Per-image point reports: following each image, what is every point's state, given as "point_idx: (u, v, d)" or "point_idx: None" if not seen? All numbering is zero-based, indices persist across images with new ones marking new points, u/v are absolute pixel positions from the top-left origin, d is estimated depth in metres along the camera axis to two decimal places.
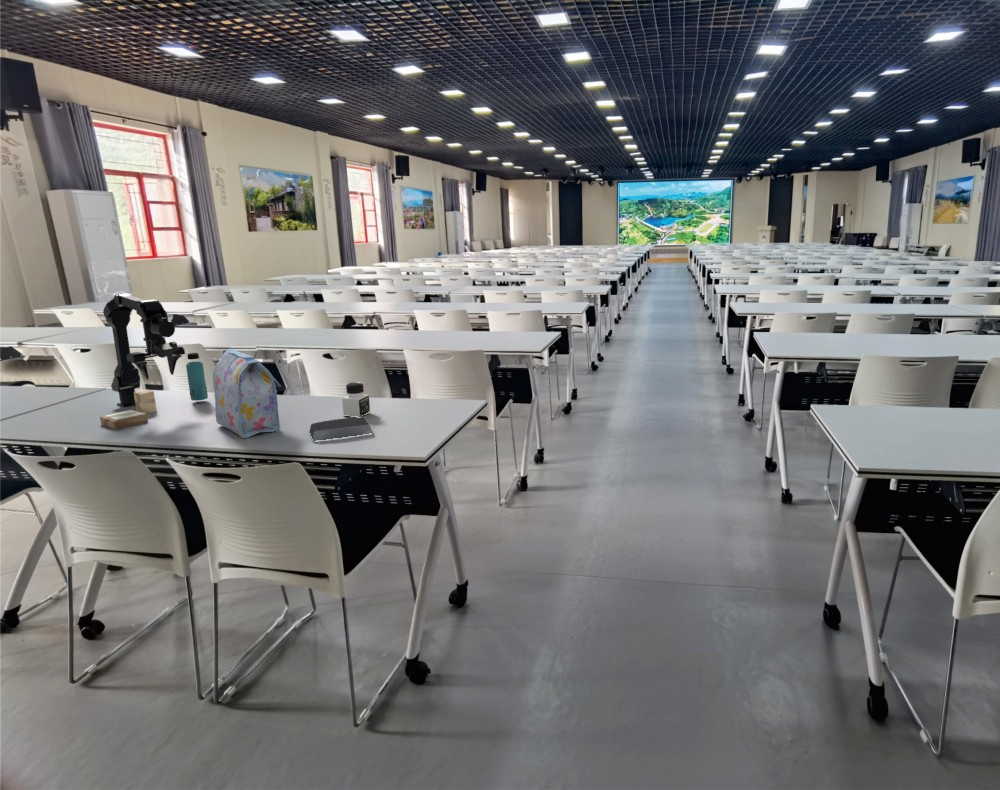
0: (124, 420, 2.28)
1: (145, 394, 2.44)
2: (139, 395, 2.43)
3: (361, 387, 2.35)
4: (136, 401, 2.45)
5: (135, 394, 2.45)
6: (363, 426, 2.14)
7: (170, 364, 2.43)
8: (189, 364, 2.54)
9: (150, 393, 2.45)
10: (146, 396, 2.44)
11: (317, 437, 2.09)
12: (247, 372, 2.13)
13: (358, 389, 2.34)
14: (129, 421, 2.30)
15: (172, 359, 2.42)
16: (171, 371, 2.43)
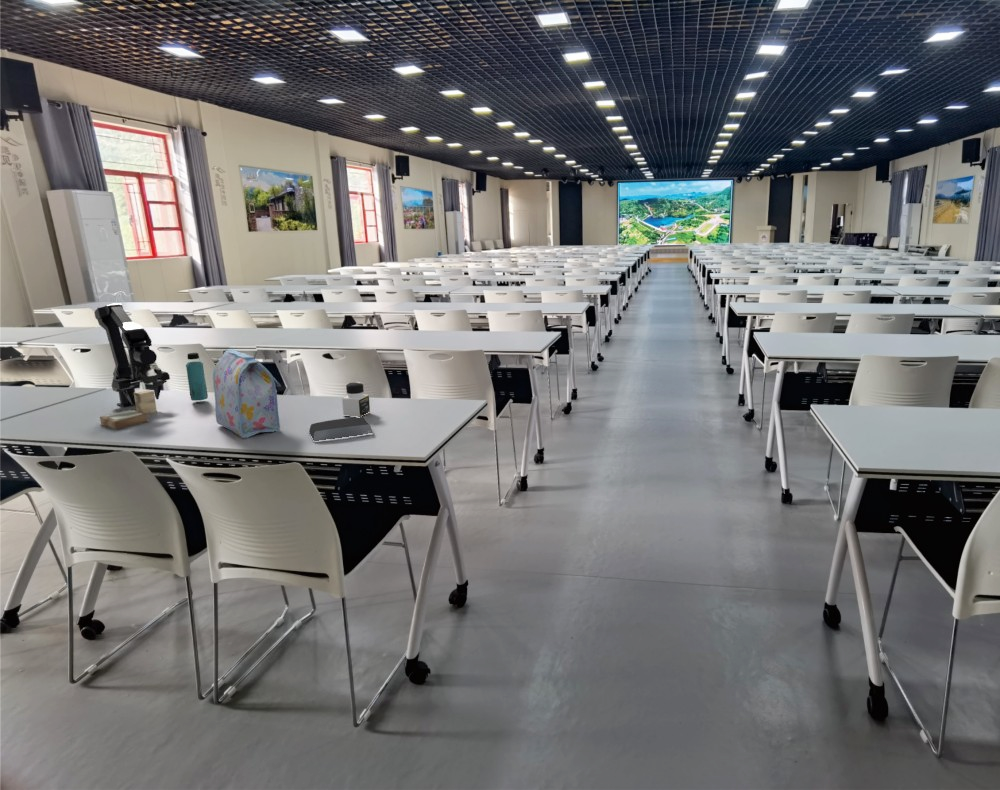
0: (124, 420, 2.28)
1: (145, 394, 2.44)
2: (139, 395, 2.43)
3: (361, 387, 2.35)
4: (136, 401, 2.45)
5: (135, 394, 2.45)
6: (364, 426, 2.14)
7: (155, 389, 2.50)
8: (189, 364, 2.54)
9: (150, 393, 2.45)
10: (146, 396, 2.44)
11: (317, 437, 2.09)
12: (247, 372, 2.13)
13: (358, 389, 2.34)
14: (129, 421, 2.30)
15: (157, 384, 2.49)
16: (156, 396, 2.50)
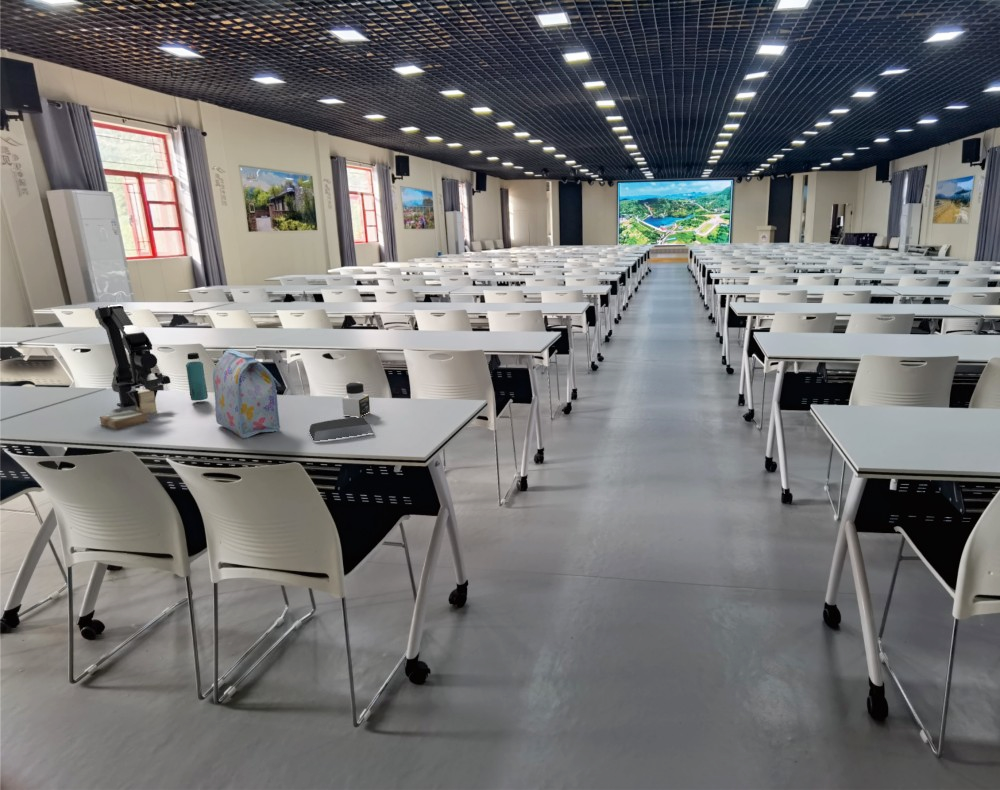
0: (124, 420, 2.28)
1: (145, 394, 2.44)
2: (139, 395, 2.43)
3: (361, 387, 2.35)
4: None
5: None
6: (364, 426, 2.14)
7: None
8: (189, 364, 2.54)
9: (150, 393, 2.45)
10: (146, 396, 2.44)
11: (318, 438, 2.08)
12: (247, 372, 2.13)
13: (358, 389, 2.34)
14: (129, 421, 2.30)
15: (153, 389, 2.47)
16: None
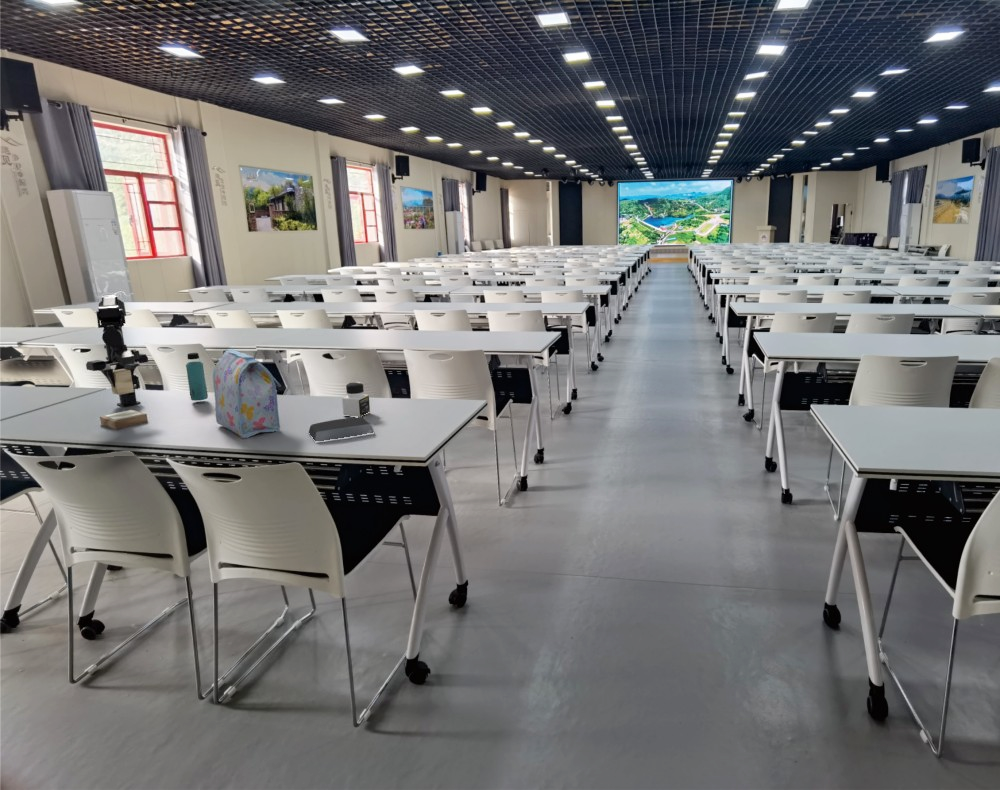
0: (124, 420, 2.28)
1: (121, 373, 2.29)
2: (114, 374, 2.28)
3: (361, 387, 2.35)
4: None
5: None
6: (365, 426, 2.15)
7: None
8: (189, 364, 2.54)
9: (126, 372, 2.30)
10: (122, 374, 2.29)
11: (319, 438, 2.08)
12: (247, 372, 2.13)
13: (358, 389, 2.34)
14: (129, 421, 2.30)
15: (129, 368, 2.32)
16: None
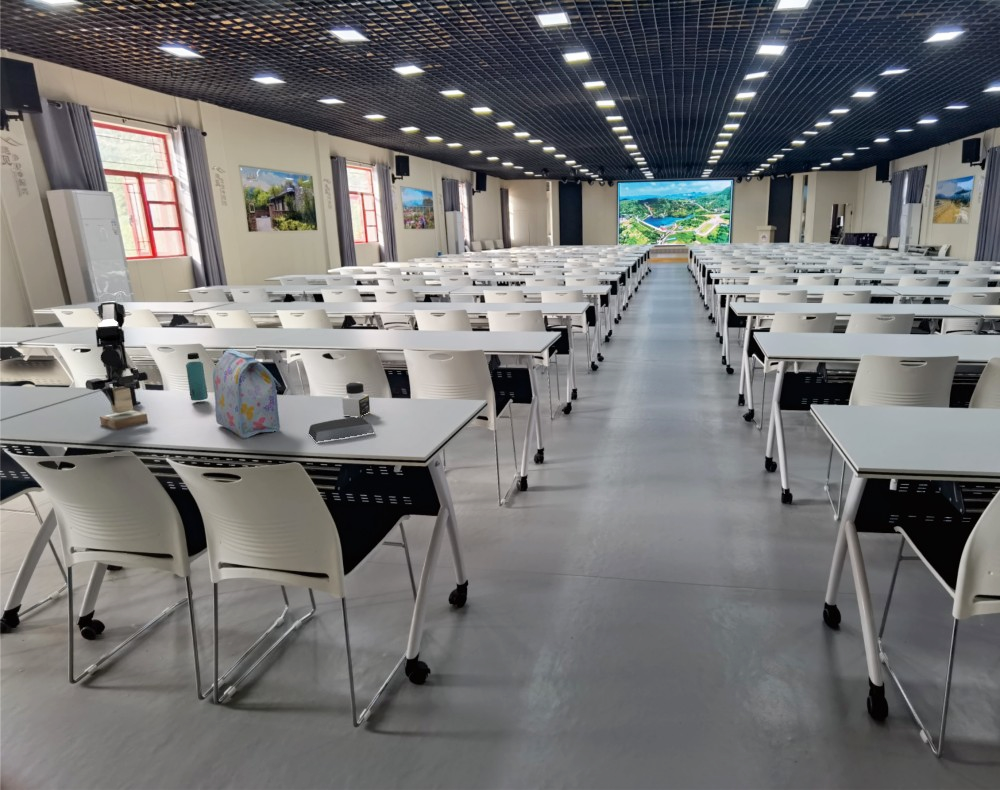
0: (124, 420, 2.28)
1: (120, 391, 2.29)
2: (113, 392, 2.28)
3: (361, 387, 2.35)
4: None
5: None
6: (365, 425, 2.15)
7: None
8: (189, 364, 2.54)
9: (126, 390, 2.30)
10: (121, 393, 2.29)
11: (320, 438, 2.08)
12: (247, 372, 2.13)
13: (358, 389, 2.34)
14: (129, 421, 2.30)
15: (129, 386, 2.32)
16: None
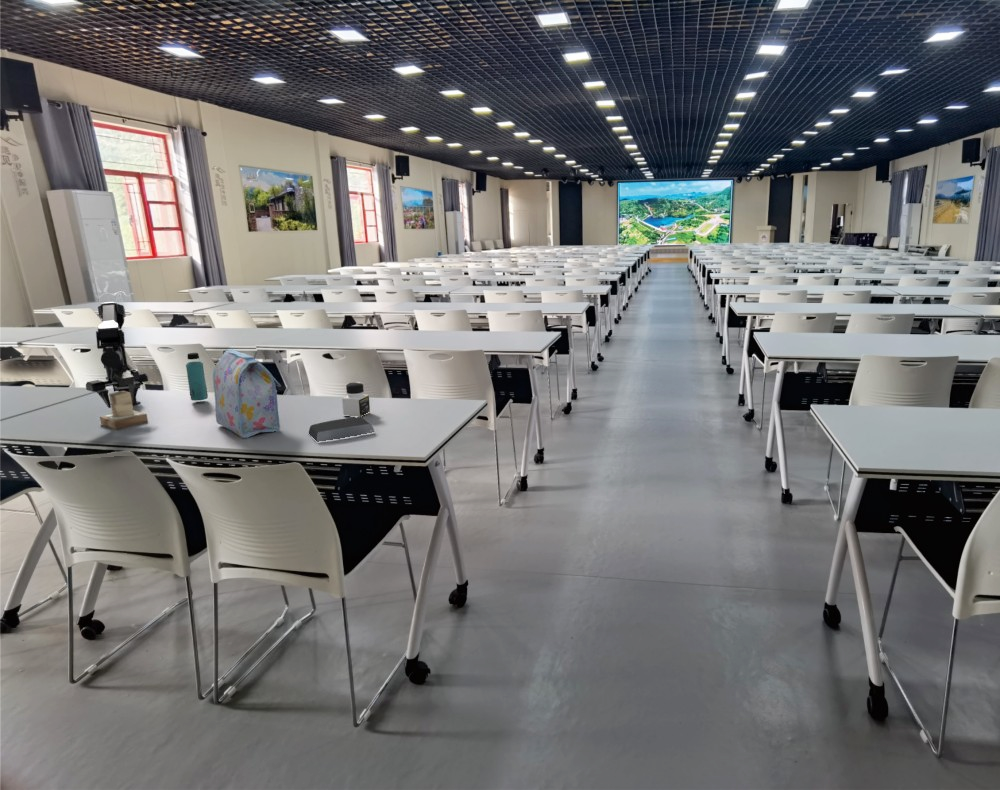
0: (124, 420, 2.28)
1: (121, 395, 2.29)
2: (114, 397, 2.28)
3: (361, 387, 2.35)
4: (111, 403, 2.31)
5: (110, 395, 2.30)
6: (366, 425, 2.15)
7: (131, 392, 2.35)
8: (189, 364, 2.54)
9: (126, 394, 2.31)
10: (122, 397, 2.29)
11: (320, 438, 2.08)
12: (247, 372, 2.13)
13: (358, 389, 2.34)
14: (129, 421, 2.30)
15: (133, 387, 2.33)
16: (132, 399, 2.35)
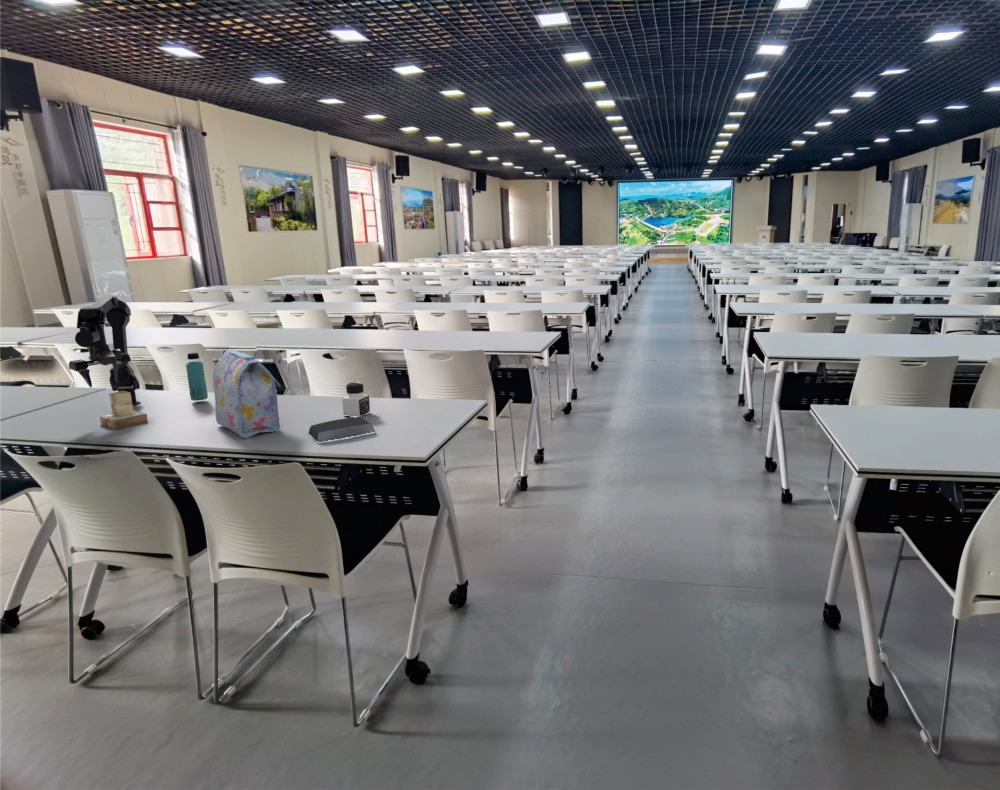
0: (124, 420, 2.28)
1: (121, 395, 2.29)
2: (114, 397, 2.28)
3: (361, 387, 2.35)
4: (111, 403, 2.31)
5: (110, 395, 2.30)
6: (366, 425, 2.15)
7: (115, 371, 2.40)
8: (189, 364, 2.54)
9: (126, 394, 2.31)
10: (122, 397, 2.29)
11: (322, 438, 2.08)
12: (247, 372, 2.13)
13: (358, 389, 2.34)
14: (129, 421, 2.30)
15: (117, 366, 2.38)
16: (116, 378, 2.40)
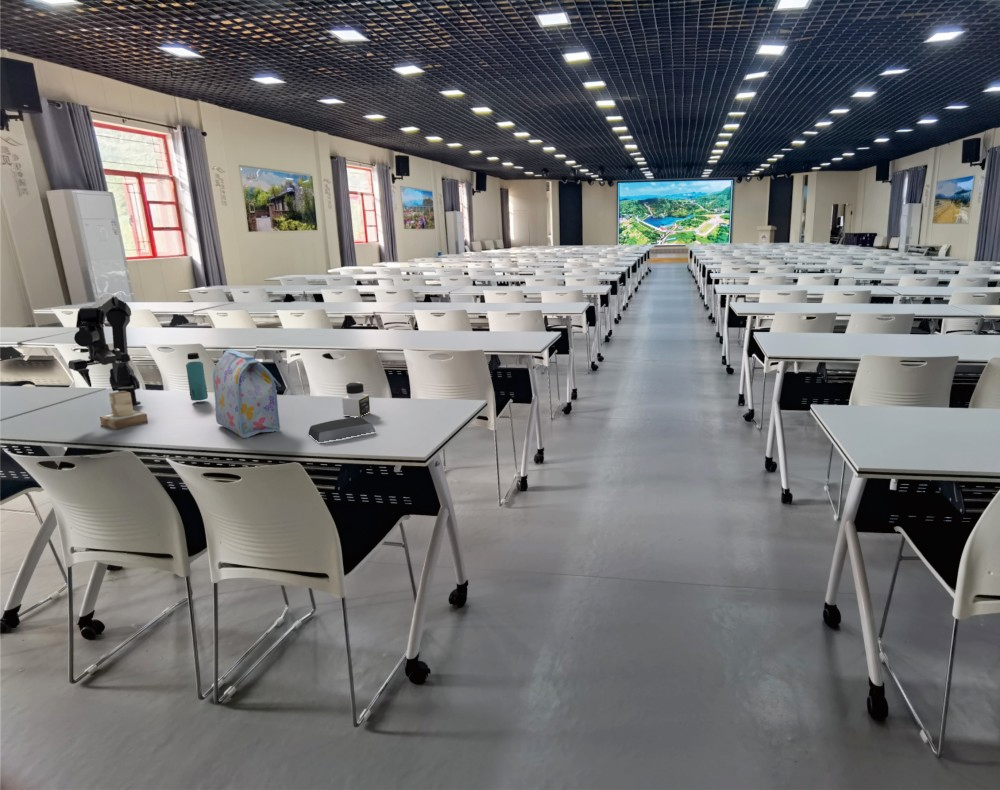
0: (124, 420, 2.28)
1: (121, 395, 2.29)
2: (114, 397, 2.28)
3: (361, 387, 2.35)
4: (111, 403, 2.31)
5: (110, 395, 2.30)
6: (367, 425, 2.15)
7: (115, 371, 2.40)
8: (189, 364, 2.54)
9: (126, 394, 2.31)
10: (122, 397, 2.29)
11: (322, 439, 2.07)
12: (247, 372, 2.13)
13: (358, 389, 2.34)
14: (129, 421, 2.30)
15: (117, 366, 2.38)
16: (116, 378, 2.40)
